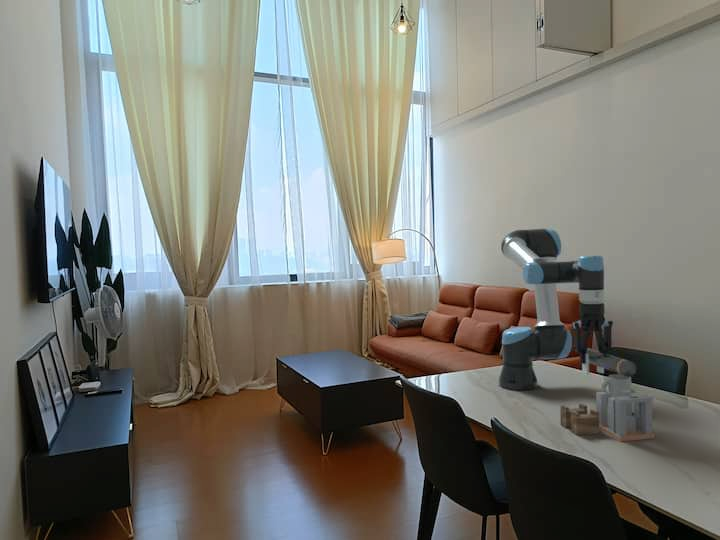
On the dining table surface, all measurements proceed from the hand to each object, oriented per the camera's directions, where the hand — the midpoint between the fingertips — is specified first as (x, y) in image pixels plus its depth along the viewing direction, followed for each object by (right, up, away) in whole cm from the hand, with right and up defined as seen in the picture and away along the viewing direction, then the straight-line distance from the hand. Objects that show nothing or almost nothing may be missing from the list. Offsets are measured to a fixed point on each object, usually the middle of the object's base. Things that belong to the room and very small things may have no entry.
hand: (593, 372), depth 165 cm
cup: (+15, -14, +14) cm, 25 cm away
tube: (+1, +3, -7) cm, 8 cm away
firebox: (+2, -15, -11) cm, 19 cm away
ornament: (+14, -14, +2) cm, 20 cm away
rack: (-9, -15, -10) cm, 21 cm away
